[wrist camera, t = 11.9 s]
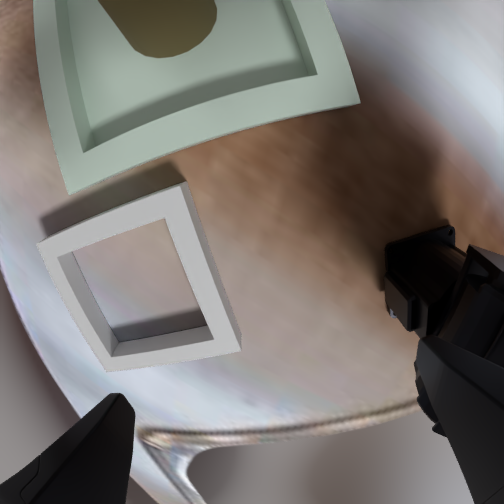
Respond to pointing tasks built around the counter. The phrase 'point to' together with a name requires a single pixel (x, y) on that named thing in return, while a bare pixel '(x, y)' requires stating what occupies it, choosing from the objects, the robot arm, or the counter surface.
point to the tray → (180, 81)
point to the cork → (162, 24)
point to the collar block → (195, 265)
